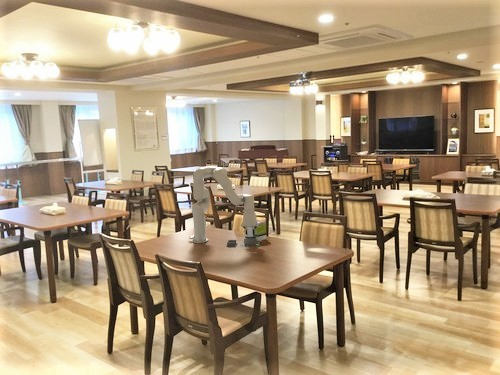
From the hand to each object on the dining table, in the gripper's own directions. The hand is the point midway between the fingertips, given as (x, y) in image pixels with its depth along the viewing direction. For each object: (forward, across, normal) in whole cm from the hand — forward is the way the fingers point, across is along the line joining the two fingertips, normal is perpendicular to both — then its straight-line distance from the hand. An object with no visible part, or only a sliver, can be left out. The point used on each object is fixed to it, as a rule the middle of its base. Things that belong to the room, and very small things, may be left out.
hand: (250, 234), depth 336 cm
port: (+8, 0, 0) cm, 8 cm away
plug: (+1, 0, 0) cm, 1 cm away
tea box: (+8, +3, +18) cm, 20 cm away
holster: (+8, -14, -3) cm, 16 cm away
